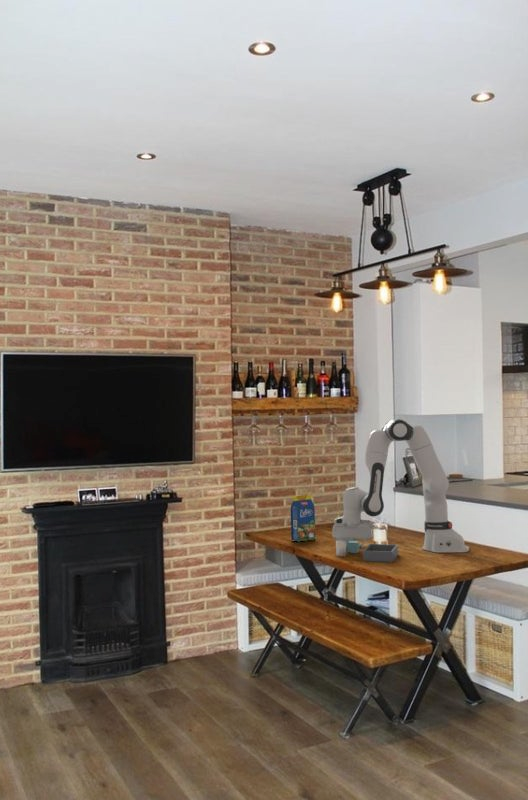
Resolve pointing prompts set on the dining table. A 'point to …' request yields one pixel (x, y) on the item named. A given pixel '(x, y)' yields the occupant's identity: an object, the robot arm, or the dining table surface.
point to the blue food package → (302, 518)
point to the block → (353, 546)
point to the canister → (341, 548)
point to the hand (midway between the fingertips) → (352, 547)
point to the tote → (380, 553)
